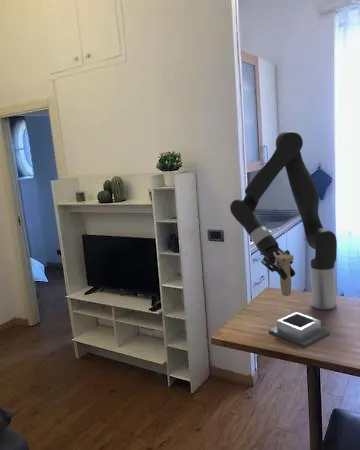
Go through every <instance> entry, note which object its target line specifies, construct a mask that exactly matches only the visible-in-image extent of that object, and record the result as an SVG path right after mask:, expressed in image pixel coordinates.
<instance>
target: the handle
mask: <svg viewBox="0 0 360 450" xmlns="http://www.w3.org/2000/svg"><path fill="white" fill-rule="evenodd" d="M275 258H276V261H278V262H280V266H281V269H283V270H284V272H285V273H286V275H287V276H288V277H287V278H286V279H285V280H283V279H282V278H281V277H280V276H279V284H280V290H281V295H282V296H284V297H289V296H291V294H292V292H291V291H292V277H291V275H290V262H291V261H293V262H294V258H295V257H294V255H292V254H290V255H277V256H275Z"/></svg>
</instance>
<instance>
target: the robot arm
mask: <svg viewBox="0 0 360 450" xmlns="http://www.w3.org/2000/svg"><path fill="white" fill-rule="evenodd" d="M303 143H304V141H303V138H302V136H301V135H300V134H299V133H298V132H297V131H291V130H285V131H283V132H280V133H279V134H278V136H277V138H276V140H275V151H274V153H273V154H272V156H271V157H270V158H269V159H268V161H267V162H266V163H265V164H264V165H263V166H262V167H261V169H259V170H258V171H257V173H256V174H255V175H254V176H253V178H252V179H251V181H249V183H248V185H247V186H246V188H245V189H244V193H245V196H244V198H243V199H240V198H237V199H234V200H233V201H231V203H230V206H229V209H230V213H231V215H232V216H233V217H234V218H235V220H236V221H237V222H238V223H239V224H240V225H241V226H242V227H243V228H244V230H245V232H246V234H247V235H248V236H249V237H250V239H251V241H252V243H253V245H255V247H256V249H257V250H258V252H259V253H260V254H261V256H263V258H262V259H261V260H260V264H262V265H263V266H264V267H266V268H267V269H268V270H269V271H270V272H271V273H274V272H276V273H277V274H278V276H279V278H280V277H281V278H282V279H283V280H285V279H286V278H287V277H288V276H287V275H286V273H285V272H284V270H283V269H281V266H280V262H278V261H276V258H275V256H277V255H291V253H290V250H288V249H287V250H283V249H281V248H280V247H279V246H280V245H279V242H278V241H277V239H276V238H274V236H273V234H272V233H271V232H270V230H269V229H268V228H267V227H266V226H265V225H264V223H263V222H262V220H261V219H260V218H259V217H258V216H257V215H255V214H254V212H255V211H256V208H257V206H258V205H259V202H260V199H261V198H262V196H264V194H265V192H267V190H268V188H269V187H270V185H271V184H272V183H273V181H274V180H275V178H276V177H277V176H278V175H279V174H280V172H281V171H282V170H283V169H284V168H285V171H286V175H287V178H288V182H289V186H290V187H289V188H290V190H291V193H292V196H293V199H294V202H295V204H296V207H297V210H298V213H299V215H300V218H301V221H302V225H303V229H304V234H305V239H306V243H307V245H309V246H310V248H312V249H313V250H315V251H314V252H315V256H314V258H312V259H311V260H310V281H311V307H313V308H315V309H317V310H325V311H326V310H327V311H328V310H332V309H334V308H336V305H337V283H336V282H335V281H336V278H335V277H336V275H335V263H336V262H337V261H336V260H337V250H338V248H337V247H338V245H337V244H338V241H337V236H336V234H335V233H334V232H333V231H331V230H328V229H325V228H324V227H323V224H322V222H321V220H320V216H319V204H320V203H319V202H320V201H319V200H320V197H319V194H318V189H317V187H316V184H315V181H314V179H313V177H312V175H311V174H310V171H309V170H308V169H307V167H306V165H305V163H304V160H303V156H302V153H301V150H302V147H303V145H304V144H303ZM293 262H294V260H293V261H291V262H290V275H291V278H293V277H294V276H295V275H296V271H295V270H294V269H293V267H292V265H293V264H294V263H293Z"/></svg>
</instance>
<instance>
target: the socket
mask: <svg viewBox="0 0 360 450" xmlns="http://www.w3.org/2000/svg"><path fill="white" fill-rule="evenodd" d="M321 324H322V323H321V319H318V318H315V317H312V316H310V315H306V314H303V313H300V312H298V311H295V312H293V313H291V314H289V315H286V316H284V317H282V318H279V319H277V320H276V326H274V327H271V328H270V329H268V330H269V331H268V332H269V333H270V334H273V335H275V336H277V337H279V338H282V339H284V340H286V341H289V342H290V343H293V344H295V345H298V346H300V347H303V348H306V347H308V346H310V345H312V344H314V343H315V342H317V341H318V342H319V340H321V339H324V338H325V337H328V336H329V335H330V334H331V333H330V331H329V330H326V329H324V328H321V327H322V325H321Z"/></svg>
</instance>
